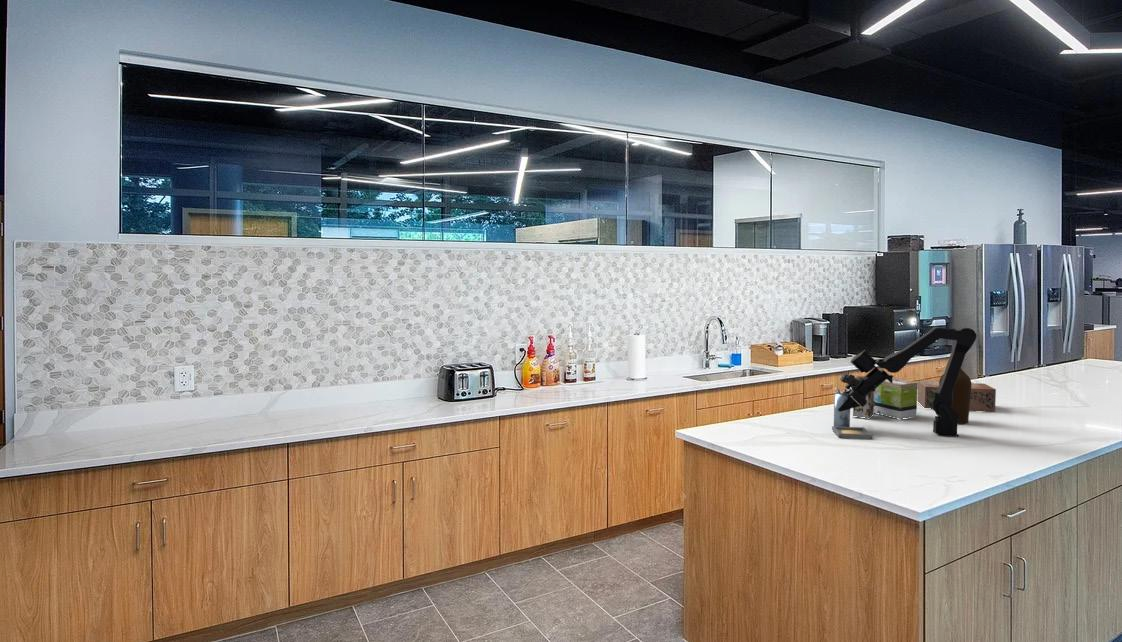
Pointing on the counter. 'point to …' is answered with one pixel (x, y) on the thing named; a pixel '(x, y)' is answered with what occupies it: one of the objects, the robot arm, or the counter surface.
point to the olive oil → (961, 396)
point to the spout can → (844, 416)
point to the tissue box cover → (979, 397)
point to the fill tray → (852, 432)
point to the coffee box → (868, 408)
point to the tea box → (896, 399)
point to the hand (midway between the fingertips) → (838, 409)
